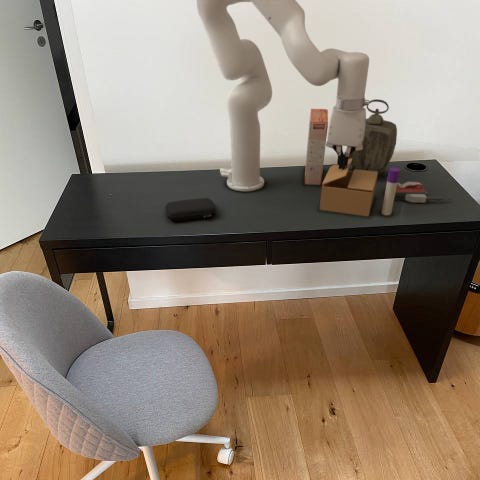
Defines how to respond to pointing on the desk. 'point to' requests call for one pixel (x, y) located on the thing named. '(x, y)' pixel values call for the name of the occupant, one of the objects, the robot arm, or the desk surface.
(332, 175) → the flap
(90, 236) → the desk surface
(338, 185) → the carton
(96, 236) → the desk surface
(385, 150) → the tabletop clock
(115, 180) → the desk surface
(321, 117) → the cracker box
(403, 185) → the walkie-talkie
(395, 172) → the marker
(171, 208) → the carrying case
